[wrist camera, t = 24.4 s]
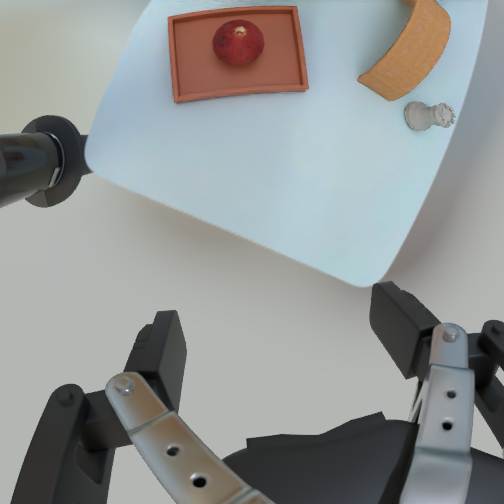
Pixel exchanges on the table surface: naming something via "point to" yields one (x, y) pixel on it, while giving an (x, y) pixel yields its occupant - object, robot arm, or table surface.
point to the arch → (411, 51)
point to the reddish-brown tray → (232, 76)
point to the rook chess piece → (428, 115)
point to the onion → (238, 42)
